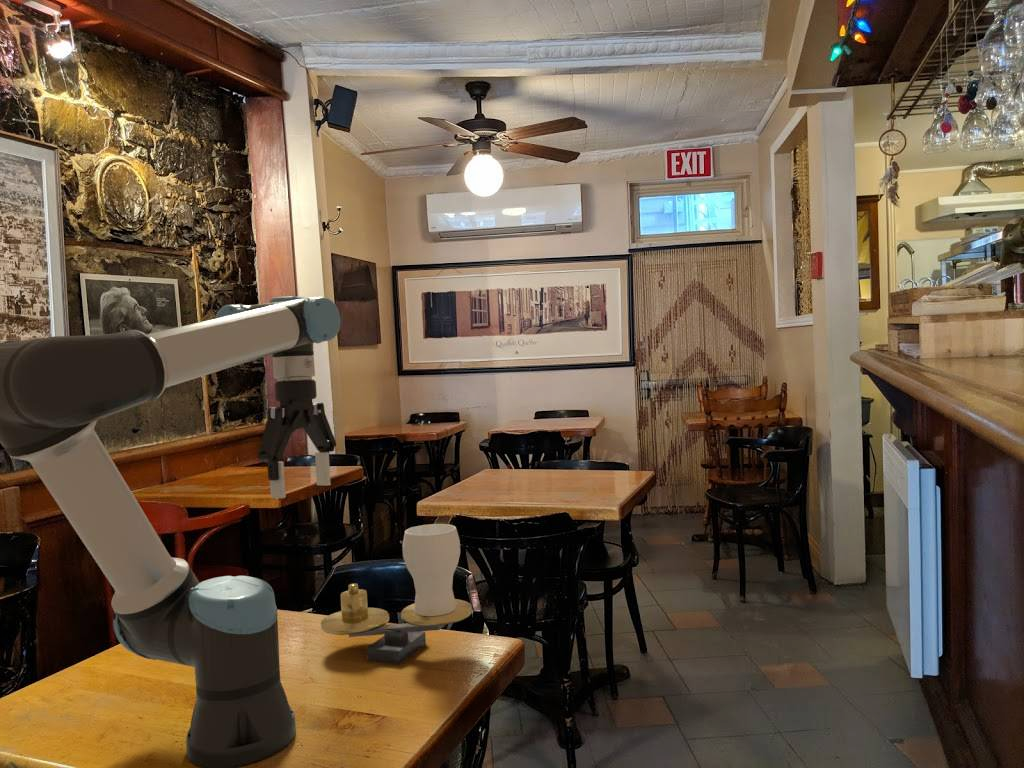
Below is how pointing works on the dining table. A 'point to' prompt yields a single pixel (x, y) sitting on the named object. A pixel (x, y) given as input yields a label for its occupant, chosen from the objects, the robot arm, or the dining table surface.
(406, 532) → the cup
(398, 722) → the dining table surface
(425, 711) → the dining table surface
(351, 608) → the balance
